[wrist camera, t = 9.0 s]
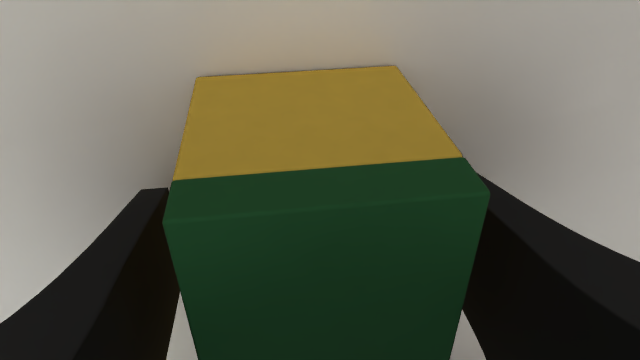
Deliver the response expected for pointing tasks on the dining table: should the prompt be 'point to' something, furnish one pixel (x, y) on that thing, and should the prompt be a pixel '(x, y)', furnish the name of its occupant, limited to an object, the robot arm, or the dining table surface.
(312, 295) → the sponge
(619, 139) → the dining table surface
